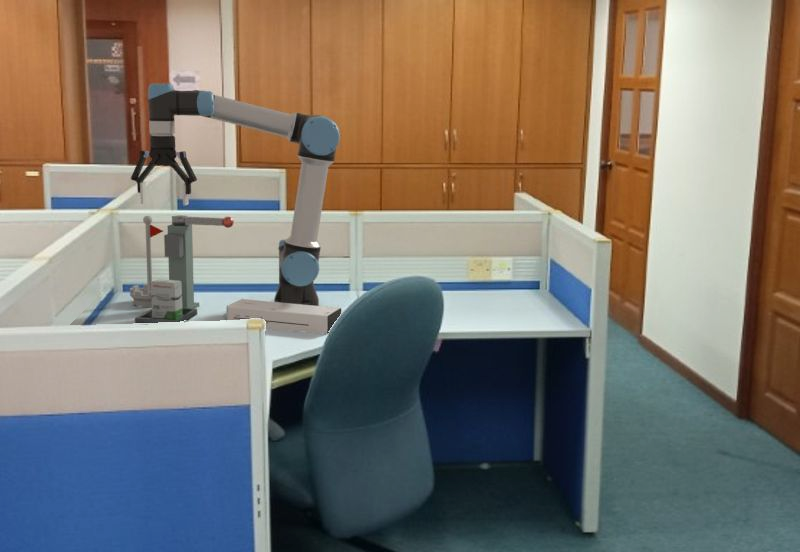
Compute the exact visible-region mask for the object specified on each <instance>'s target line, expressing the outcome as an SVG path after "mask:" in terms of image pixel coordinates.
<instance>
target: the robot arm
mask: <svg viewBox="0 0 800 552" xmlns="http://www.w3.org/2000/svg"><path fill="white" fill-rule="evenodd" d="M147 92H148V95H147V96H148V98H147V101H148V103H147V104H148V120H149V121H148V122H149V123H148V124H149V129H148V131H149V134H150V136H149V149H150V150H149V151H148V150H146V149H145V150H140V151H139V158H138V161H137V163H136V166H135V168H134V170H133V172H132V175H131V176H130V180H131V181H134V182H136V183H137V187H136V188H137V193H139V194H140V195H139V196H140V205H145V204H147V202H148V201H147V183H146V181H145V179H146V178H147V177H148V176H149V174H150V173H151V172H152V170H153V169H154V168H155V167H156V166H158V167H161V166H163V167H166V166H167V167H169V166H170V167H171V168H172V169H173V171H174V172H176V174H177V175H178V176H179V177H180V178H181V180H182V181H183V182H184V183H183V184H182V205H183V206H187V205H189V195H190V194H192V183H194V182H197V180H198V178H197V176H196V175H195V173H194V171H193V168H192V166H191V164H190V162H189V160H188V159H187V153H186V150H185V151H184V150H183V151H178V152H177V151H176V136H175V135H174V134H175V133H176V127H175V116H188V117H189V116H195V117H197V116H200V117H203V118H208V119H213V120H216V121H221V122H225V123H228V124H232V125H237V126H241V127H244V128H247V129H252V130H256V131H260V132H263V133H267V134H272V135H277V136H278V137H279V136H280V137H283V138H285V139H287V141H288V142H291V143H294V144H298V153H297V157H298V158H299V160H300V161H301V164H300V172H299V176H298V177H299V179H298V183H297V191H296V199H295V202H294V203H295V204H294V211H293V217H292V222H291V223H292V224H291V230H290V236H289V237H288V238H286V239H281V240H280V241H279V243H278V248H277V249H278V286H277V290H276V292H275V296H274V297H273V298H274V299H273V302H280V303H291V304H302V305H313V306H319V304H320V303H319V302H320V301H319V296H318V294H317V291H316V287H315V283H314V281H315V280H316V279H317V277H318V275H319V272H320V264H319V263H320V262H319V261H320V255H321V247H322V246H321V244H320V243H319V241H318V236H319V229H320V223H321V216H322V209H323V204H324V197H325V191H326V184H327V177H328V172H329V166H331V165H332V164H334V163H335V159H336V152H337V147H338V146H339V144H340V139H341V134H340V129H339V127H338V125H337V124H336V122H335V121H334V120H333V119H331V118H330V117H327V116H324V115H319V114H317V115H316V114H304V113H299V112H297V111H296V112H294V113H292V114H290V113H286V112H283V111H281V110H280V111H279V110H277V109H276V110H275V109H272V108H267V107H263V106H258V105H257V104H256V105H255V104H251V103H247V102H243V101H239V100H235V99H232V98H228V97H223V96H220V95H217V94H214V92H212V90H211V91H209V90H198V89H194V90H193V89H192V90H177V89H175V88H174V85H173V84H172V83H150V84H149V86H148V91H147ZM177 157H178V159H179V160H180V162H181V164H182V166H183V168H184V170H185V171H184V170H183V169H182V167H181V166H180V165H179V163H178V162H177V161H176V158H177ZM147 158H150V159H151V160H150V162H149V163H148V164H147V166H146V167H145V169H144V170H143V168H144V166H145V163H146V161H147ZM141 171H142V172H141ZM185 172H186V173H185Z"/></svg>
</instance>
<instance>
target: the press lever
mask: <svg viewBox="0 0 800 552" xmlns="http://www.w3.org/2000/svg"><path fill="white" fill-rule="evenodd" d="M171 224H174V225H185V224H192V226H193V225H194V226H195V225H196V226H197V225H198V226H215V227H216V226H218V227H220V226H221V227H222V226H223V227H224V228H228V229H230V228H231V227H233V225H234V219H233V217H230V216H225V217H210V216H209V217H207V216H206V217H205V216H204V217H202V216H188V215H182V214H181V215H173V216H171Z"/></svg>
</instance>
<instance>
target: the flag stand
mask: <svg viewBox="0 0 800 552" xmlns="http://www.w3.org/2000/svg"><path fill="white" fill-rule="evenodd" d="M142 220H143V221H142V222H143V223H144V224H145V225H144V226H145V249H146V251H145V253H146V275H147V276H146V277H147V280H146V281H147V283H143V287H140V285H139V284H136V285H133V286H131V287H130V288H129V296H130V297H131V298H132V299H133V305H134V306H135V305H136V306H135V307H139V306H143V307H142V308H152V299H151V282H152V281H153V275H152V274H153V271H152V270H153V269H152V268H153V265H152V244H151V243H152V242H151V241H152V239H151V238H152V237H154V236H156V235H159V234H160V233H163V232H164V230H162V229H160V228H158V227H157V226H154V225H152V223H153V218H152V217H151V216H150V215H145V216H144V217H143V219H142Z"/></svg>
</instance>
